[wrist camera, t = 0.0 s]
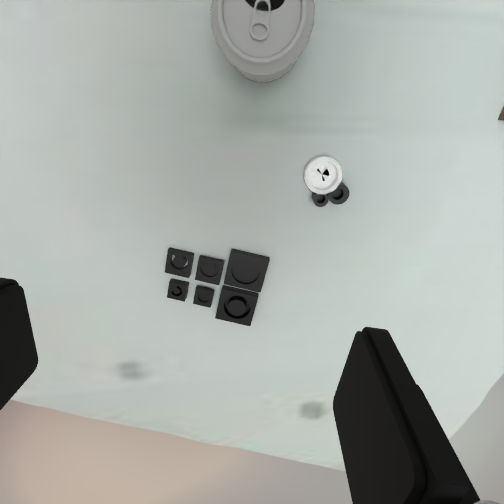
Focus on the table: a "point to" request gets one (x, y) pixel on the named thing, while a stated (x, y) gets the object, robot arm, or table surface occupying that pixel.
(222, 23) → the can
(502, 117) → the block
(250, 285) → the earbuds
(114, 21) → the table surface
